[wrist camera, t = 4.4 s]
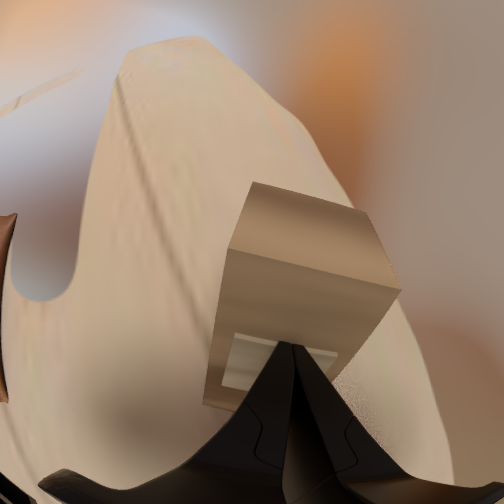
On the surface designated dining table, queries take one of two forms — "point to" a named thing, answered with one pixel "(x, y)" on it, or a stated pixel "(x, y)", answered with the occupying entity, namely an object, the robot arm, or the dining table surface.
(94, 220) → the dining table surface
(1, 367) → the sunglasses case
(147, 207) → the dining table surface
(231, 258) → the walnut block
